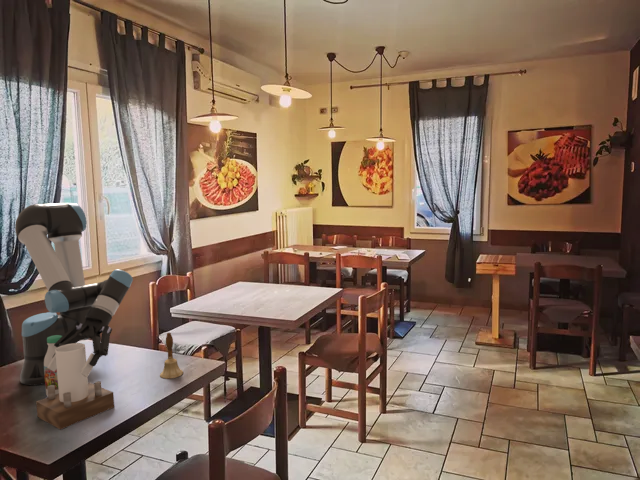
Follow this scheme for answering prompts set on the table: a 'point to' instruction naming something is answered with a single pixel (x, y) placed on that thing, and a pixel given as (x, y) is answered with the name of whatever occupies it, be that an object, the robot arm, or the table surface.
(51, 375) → the milk bottle
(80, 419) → the riser
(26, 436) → the table surface
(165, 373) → the hand bell
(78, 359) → the cup
